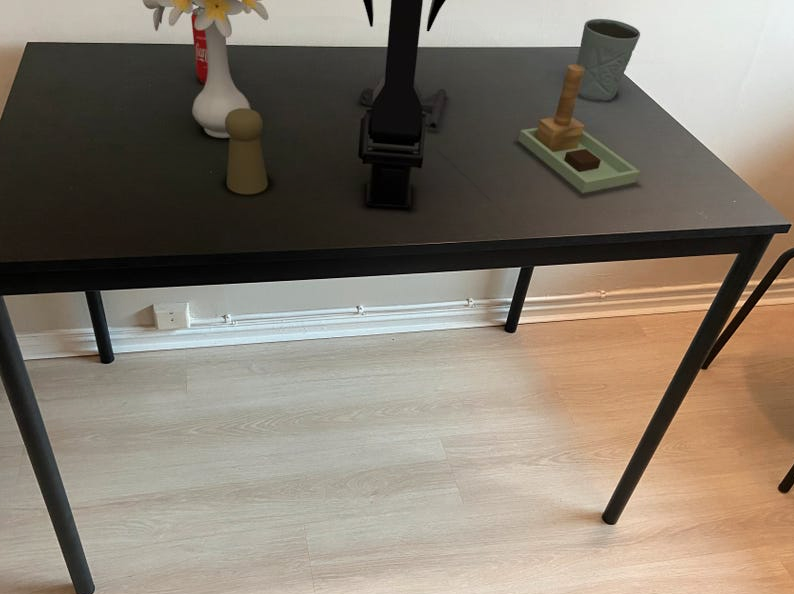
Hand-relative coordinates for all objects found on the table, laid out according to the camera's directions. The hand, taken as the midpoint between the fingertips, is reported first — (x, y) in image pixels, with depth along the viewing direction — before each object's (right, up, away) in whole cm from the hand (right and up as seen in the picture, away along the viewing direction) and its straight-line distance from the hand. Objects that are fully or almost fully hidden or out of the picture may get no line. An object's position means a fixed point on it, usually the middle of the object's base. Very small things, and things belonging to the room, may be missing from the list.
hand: (399, 28), depth 115 cm
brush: (+27, -18, +4) cm, 32 cm away
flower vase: (-30, -17, +1) cm, 34 cm away
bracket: (+1, -9, +12) cm, 15 cm away
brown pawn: (-23, -28, -10) cm, 38 cm away
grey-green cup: (+39, -2, +23) cm, 45 cm away
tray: (+29, -22, +1) cm, 36 cm away
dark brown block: (+29, -22, 0) cm, 37 cm away
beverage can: (-34, -2, +16) cm, 38 cm away
